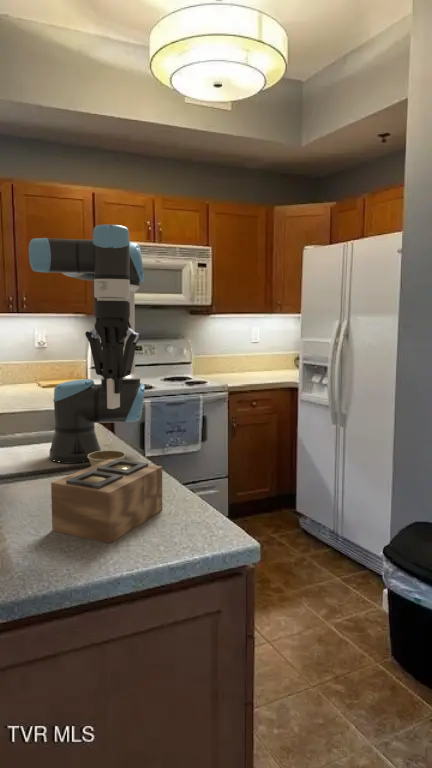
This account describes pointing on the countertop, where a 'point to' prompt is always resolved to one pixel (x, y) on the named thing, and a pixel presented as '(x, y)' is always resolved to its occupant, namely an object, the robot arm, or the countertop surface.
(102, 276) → the robot arm
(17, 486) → the countertop surface
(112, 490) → the socket block
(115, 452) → the flower pot
